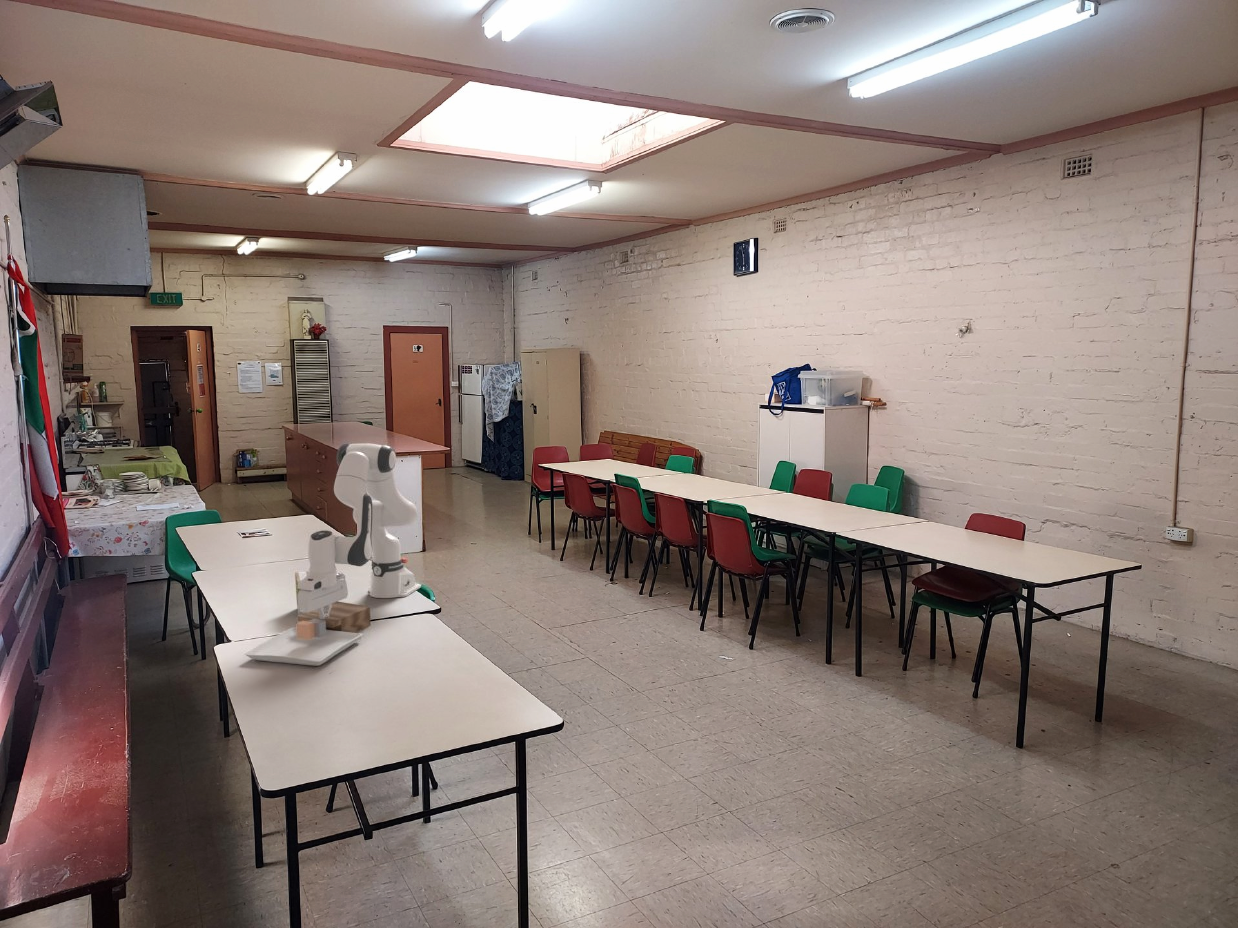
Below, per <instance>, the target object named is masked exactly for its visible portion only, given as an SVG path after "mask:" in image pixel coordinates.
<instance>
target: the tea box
mask: <svg viewBox="0 0 1238 928" xmlns="http://www.w3.org/2000/svg"><path fill="white" fill-rule="evenodd" d="M308 574H309V570H308V571H307V570H306V571H299V572H298V571H297V572H295V573H294V577H295V578H294V579H295V593H296V594H295V595H296V609H297V614H298V615H301V614H303V613H304V612H300V611H299V609H298V592H299V590H300V589H299V588H298V583H299V582H300V581H301V580H303V579H304V578H305V577H306V576H307V575H308ZM298 615H297V616H298Z"/></svg>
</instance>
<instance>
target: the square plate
mask: <svg viewBox="0 0 1238 928" xmlns="http://www.w3.org/2000/svg"><path fill="white" fill-rule="evenodd" d="M363 636H364V635H363V633H358V632H355V633H350V632H342V631H334V630H326V635H325V636H322V637H320V638H319V637H314V638H312V639H310V640H307V639H301V638H297V627H291V628H289V629H287V630H285V631H283V632H281V633H278V635H275V636H273V637H271V638H270V639H268V640H266V641H265V642H262V643H261V644H260V645H258V646H256V647H255V648H254V647H253V648H252V649H250V651H248V652H245V653H244V655H245V656H246V657H248V658H250V659H252V660H255V661H263V662H268V663H269V662H270V663H271V662H272V663H282V664H292V665H300V666H301V665H302V666H321V665H323V664H325V663H326V662H328V661H329V660H331V659H332V658H333V657H335V656H336V655H338V654H339V653H341V652H343V651H344V650H346V649H349V647H350V646H353V645H354V644H356V643H357V642H358V641H359V640H360V639H361V638H362V637H363Z"/></svg>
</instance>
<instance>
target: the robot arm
mask: <svg viewBox="0 0 1238 928" xmlns="http://www.w3.org/2000/svg"><path fill="white" fill-rule="evenodd" d="M396 462H397V454H396V451H395V449H393V448H392V446H389V445H386V444H383V445H381V444H376V443H368V442H367V443H353V442H348V443H343V444H341V445H340V446H339V448H338V449H337V453H336V463H337V466H338V470H337V472H336V477H335V480H334V484H333V493H334V495H335V497H336V498H337V499H338V501H340V502H341V503H342V504H344V505H345V506H347V507H350V508H352V509H353V511H352V517H353V518H352V519H353V520H354V522H355V524H356V525H357V527H356V535H355V536H341V535H334V533H333V532H332V531H331V530H323V529H322V530H317V531H315V532H313V533H312V534H311V535H310V537H309V539H308V553H307V556H308V561H309V568H308V571H309V574H308V575H307V576H306V577H305V578H304V579H303V580H301V581H300V582H299V583H298V588H299V589H300V590H299V592H298V609H299V611H300V612H304V613H308V612H311V611H314V610H317V611H318V613H319V618H320V619H324V618H327V617H329V612H330V610H331V607H332V603H335V602H337V601H338V602H341V601H343V600H344V599H347V597H348V595H349V591H348V584H347V580H346V575H345V574H344V573H342V572H338V573H337V566H336V564H337V565H349V566H355V567H363V566H365V564H367V563H368V562H369V561H370V560H371V559H372V560H371V570H372V571H371V573H370V586H369V588H368V592H369V597H372V598H375V599H377V598H378V599H392V598H400V597H401V598H405V597H407V596H409V595H411V594H412V593H414V592H416V591H417V590H419V589H420V588H422V584H421V583H419V582H416V579H415V577H416V576H415V575H414V573H413V572H411V571H410V570H409V569H407V568H406V567H405V565H404V564H407V563H408V558H404V557H402V558H401V542H400V539H398V538H397V536H394V535H393V534H391V533H389V532H388V530H387V529H386V528H405V527H406V528H407V527H410V526H414V524H415V523H416V522H417V519H418V515H419V513H418V508H417V506H416V504H414V503H413V502H411V501H410V500H408V499H407V498H405V497H404V496H403V495H402V493H401V492H400V491H399V489H398V488H397V485H396V481H395V476H394V468H395V466H396ZM372 498H373V499H375V500H372ZM324 607H325V610H324ZM298 609H297V610H298ZM323 610H324V611H323Z"/></svg>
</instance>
